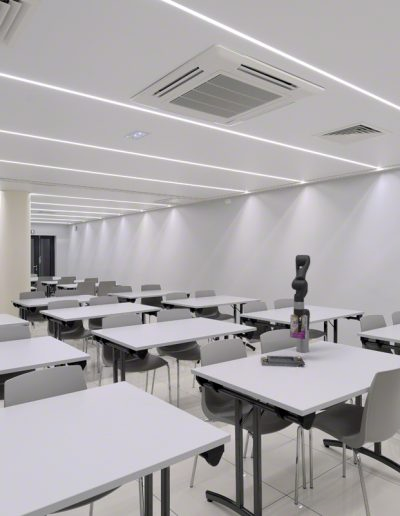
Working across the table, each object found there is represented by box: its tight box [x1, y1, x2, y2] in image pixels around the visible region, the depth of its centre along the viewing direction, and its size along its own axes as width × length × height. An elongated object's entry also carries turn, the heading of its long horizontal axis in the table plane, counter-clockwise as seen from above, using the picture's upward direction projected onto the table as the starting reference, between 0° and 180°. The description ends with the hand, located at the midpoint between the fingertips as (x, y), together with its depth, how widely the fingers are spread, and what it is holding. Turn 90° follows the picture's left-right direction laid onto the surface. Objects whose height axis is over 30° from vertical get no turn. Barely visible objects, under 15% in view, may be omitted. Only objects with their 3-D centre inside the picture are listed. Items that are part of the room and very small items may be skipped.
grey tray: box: [260, 355, 305, 368], centre depth 270 cm, size 16×28×5 cm, turn 85°
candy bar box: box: [289, 313, 307, 339], centre depth 282 cm, size 11×5×16 cm, turn 59°
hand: (298, 331), depth 282 cm, fingers closed on candy bar box, 6 cm apart
